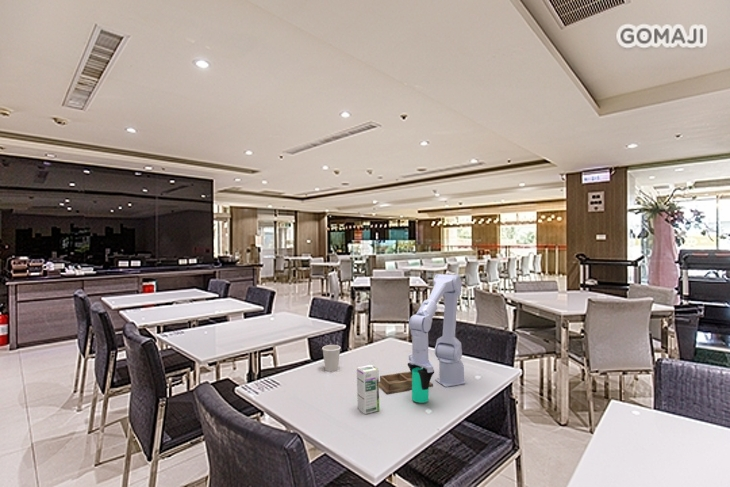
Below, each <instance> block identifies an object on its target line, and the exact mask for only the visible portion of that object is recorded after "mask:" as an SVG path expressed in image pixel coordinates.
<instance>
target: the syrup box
mask: <svg viewBox="0 0 730 487" xmlns="http://www.w3.org/2000/svg"><path fill="white" fill-rule="evenodd" d="M379 372H380V371H379V368H377V367H376V366H375V365H372V364H368V365H363V366H358V367H356V396H357V409H358V410H359V411H360V412H361V413H363V415H368V414H371V413H375V412H379V411H380V388H379V382H380V376H379V374H380V373H379Z"/></svg>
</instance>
